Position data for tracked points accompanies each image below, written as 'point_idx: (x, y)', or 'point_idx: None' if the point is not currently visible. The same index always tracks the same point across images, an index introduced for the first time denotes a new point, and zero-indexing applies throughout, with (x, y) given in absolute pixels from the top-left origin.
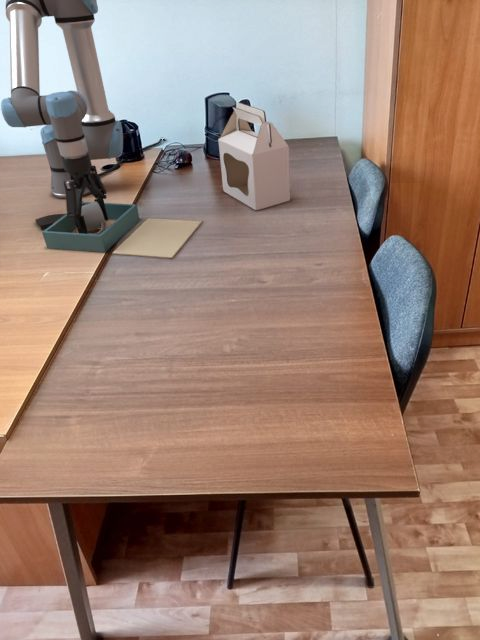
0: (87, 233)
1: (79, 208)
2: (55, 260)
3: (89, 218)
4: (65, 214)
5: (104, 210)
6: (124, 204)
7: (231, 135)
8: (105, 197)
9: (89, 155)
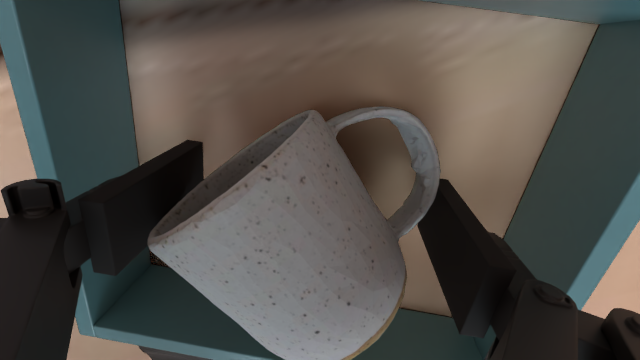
0: (445, 188)
1: (571, 354)
2: (636, 265)
3: (370, 219)
4: (159, 353)
5: (164, 166)
6: (8, 24)
7: None
8: (41, 184)
9: None
